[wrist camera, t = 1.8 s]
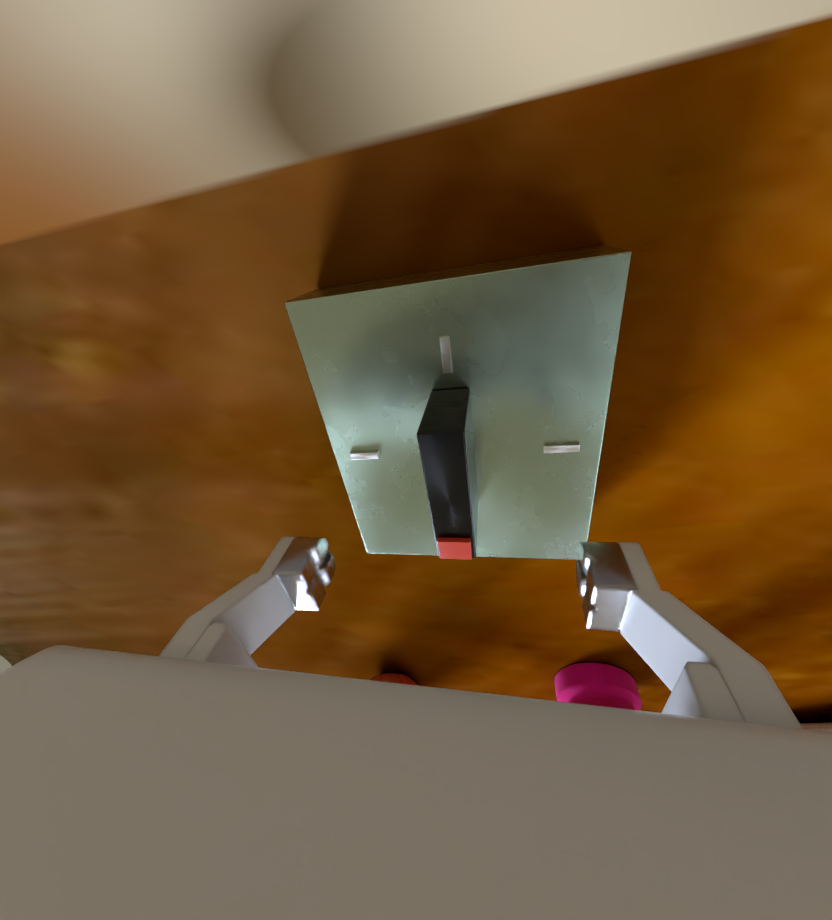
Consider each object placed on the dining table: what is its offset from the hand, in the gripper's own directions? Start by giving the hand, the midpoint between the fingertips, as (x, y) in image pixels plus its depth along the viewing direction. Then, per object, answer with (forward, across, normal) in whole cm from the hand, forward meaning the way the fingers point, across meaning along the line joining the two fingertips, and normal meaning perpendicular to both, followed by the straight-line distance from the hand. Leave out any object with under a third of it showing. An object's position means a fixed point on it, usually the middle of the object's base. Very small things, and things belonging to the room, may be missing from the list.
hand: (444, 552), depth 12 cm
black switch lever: (+6, 0, 0) cm, 6 cm away
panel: (+9, 0, 0) cm, 9 cm away
